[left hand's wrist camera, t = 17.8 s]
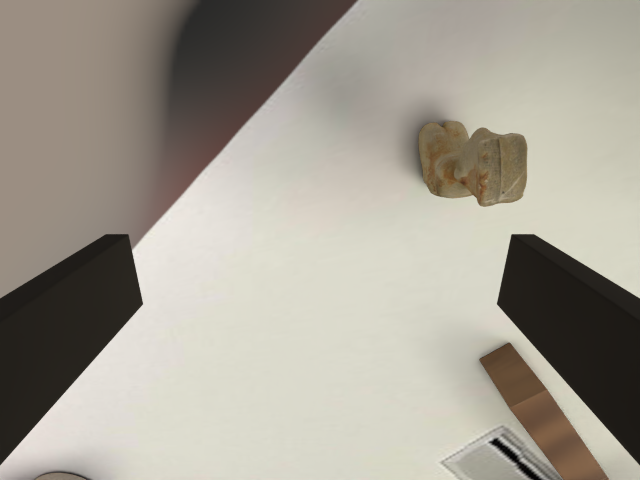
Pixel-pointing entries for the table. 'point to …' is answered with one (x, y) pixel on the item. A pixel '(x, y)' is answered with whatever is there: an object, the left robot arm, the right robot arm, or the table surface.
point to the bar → (541, 415)
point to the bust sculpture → (59, 477)
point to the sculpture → (473, 163)
